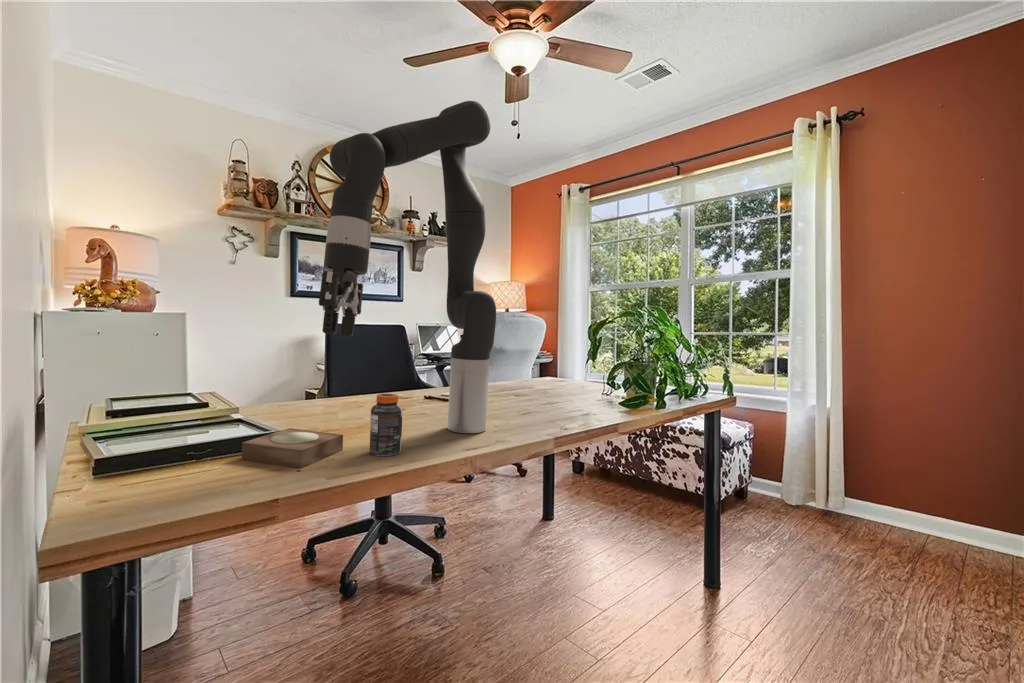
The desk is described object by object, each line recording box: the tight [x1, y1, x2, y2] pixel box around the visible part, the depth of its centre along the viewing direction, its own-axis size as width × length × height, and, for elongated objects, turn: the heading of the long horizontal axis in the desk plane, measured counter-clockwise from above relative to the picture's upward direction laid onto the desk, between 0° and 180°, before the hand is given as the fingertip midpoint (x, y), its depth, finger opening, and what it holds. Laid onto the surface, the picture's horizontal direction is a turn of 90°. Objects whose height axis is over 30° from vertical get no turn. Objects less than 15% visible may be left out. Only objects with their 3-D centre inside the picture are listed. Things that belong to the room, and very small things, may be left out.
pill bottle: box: [369, 393, 404, 457], centre depth 91 cm, size 6×6×11 cm
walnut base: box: [241, 428, 344, 469], centre depth 87 cm, size 12×12×3 cm
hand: (338, 334), depth 85 cm, fingers open, 8 cm apart
